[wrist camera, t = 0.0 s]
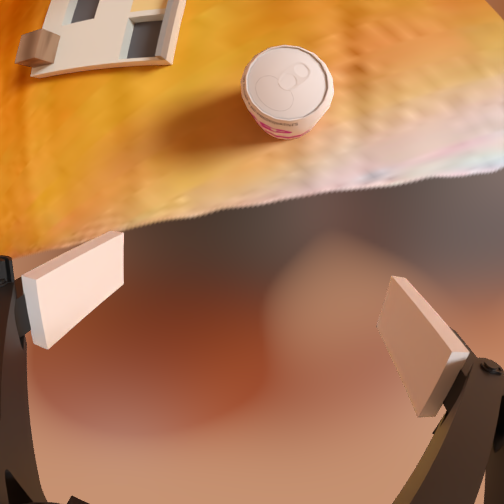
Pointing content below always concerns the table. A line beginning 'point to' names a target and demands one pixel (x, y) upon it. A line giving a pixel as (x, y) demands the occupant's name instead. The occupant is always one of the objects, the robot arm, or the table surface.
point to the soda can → (287, 90)
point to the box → (111, 34)
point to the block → (37, 48)
